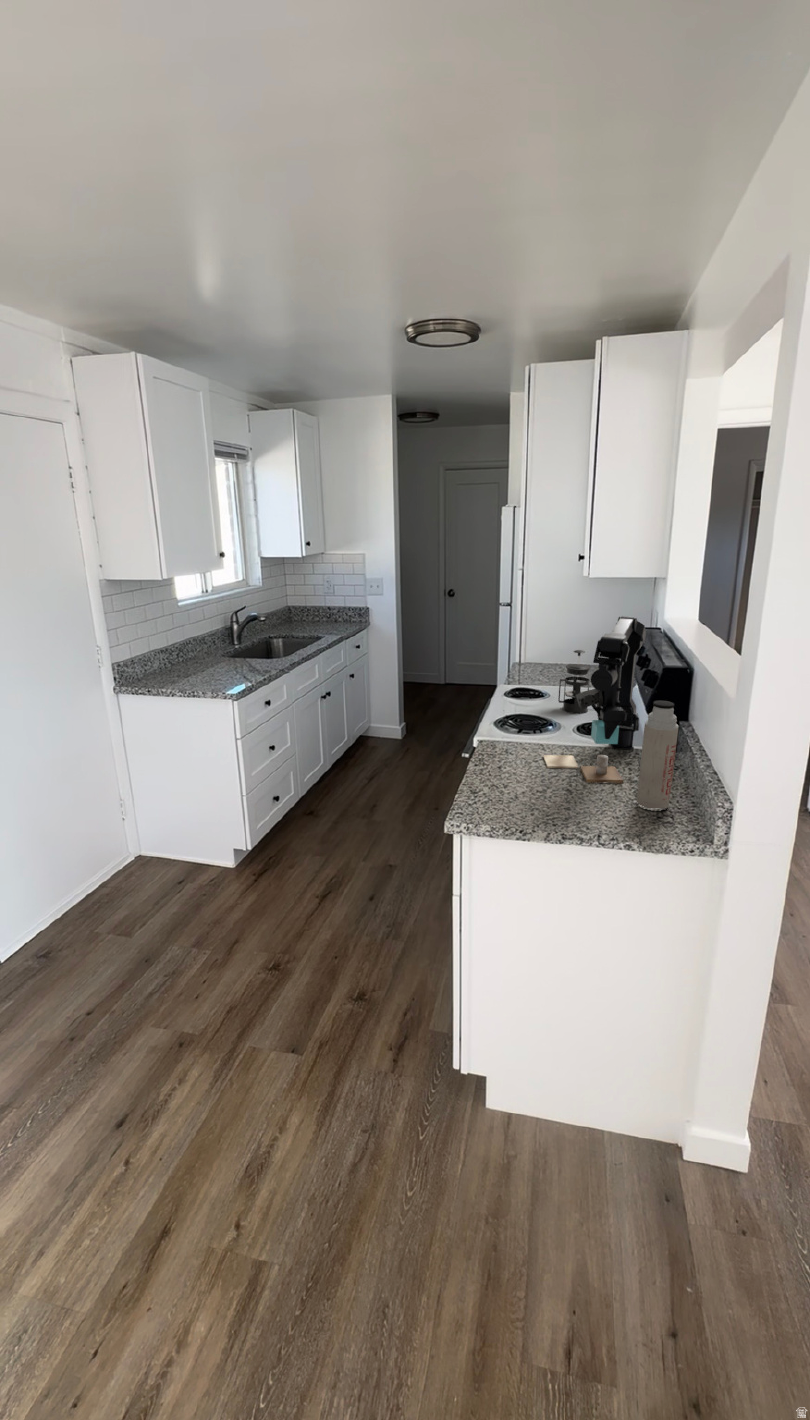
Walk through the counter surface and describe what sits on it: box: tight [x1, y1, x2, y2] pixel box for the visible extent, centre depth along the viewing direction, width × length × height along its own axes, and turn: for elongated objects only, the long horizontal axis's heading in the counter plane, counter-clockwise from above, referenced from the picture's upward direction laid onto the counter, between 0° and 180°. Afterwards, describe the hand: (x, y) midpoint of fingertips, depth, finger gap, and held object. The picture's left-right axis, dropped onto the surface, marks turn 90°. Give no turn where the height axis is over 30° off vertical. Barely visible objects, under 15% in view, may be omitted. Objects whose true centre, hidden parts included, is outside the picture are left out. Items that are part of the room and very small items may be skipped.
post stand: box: [579, 754, 624, 784], centre depth 192 cm, size 10×10×6 cm
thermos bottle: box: [636, 700, 680, 808], centre depth 170 cm, size 8×8×28 cm
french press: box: [557, 649, 591, 715], centre depth 250 cm, size 12×9×23 cm
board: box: [542, 754, 579, 769], centre depth 203 cm, size 9×9×1 cm
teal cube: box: [590, 719, 619, 745], centre depth 189 cm, size 6×6×5 cm
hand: (604, 735), depth 189 cm, fingers closed on teal cube, 6 cm apart
